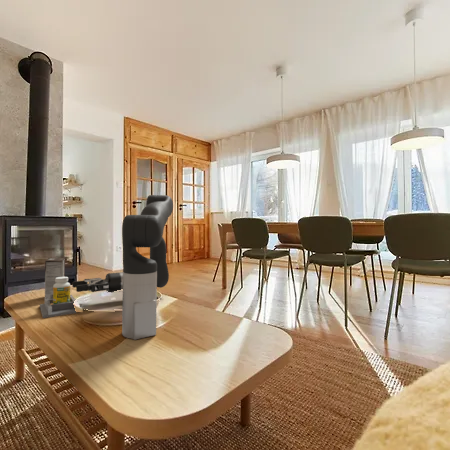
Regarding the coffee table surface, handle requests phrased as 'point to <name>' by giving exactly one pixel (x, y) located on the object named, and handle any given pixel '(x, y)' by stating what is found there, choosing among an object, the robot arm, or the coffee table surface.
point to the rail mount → (57, 308)
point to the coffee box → (53, 274)
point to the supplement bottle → (61, 290)
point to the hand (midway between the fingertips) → (74, 286)
